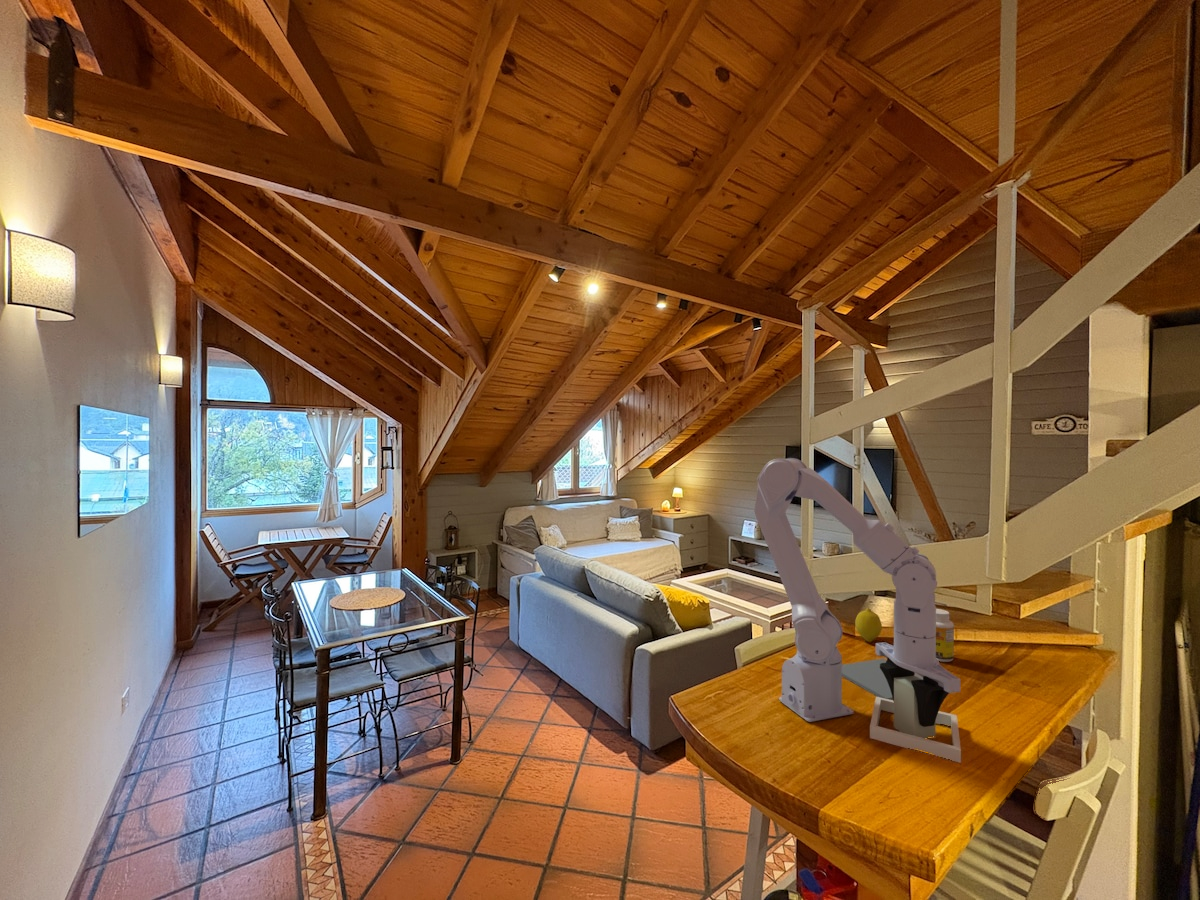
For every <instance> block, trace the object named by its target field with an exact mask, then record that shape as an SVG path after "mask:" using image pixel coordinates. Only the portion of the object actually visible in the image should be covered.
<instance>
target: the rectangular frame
mask: <svg viewBox="0 0 1200 900" xmlns="http://www.w3.org/2000/svg"><path fill="white" fill-rule="evenodd" d="M881 711H883V712H888V713H892V714H894V701H893V700H889V699H885V698H881V697H878V696H876V697H875V700H874V706H873V710H872V713H871V715H872V716H871V720H870V724H869V739H871V740H872V739H873V740H876V741H879V742H883V743H886V744H890V745H894V746H897V747H901V748H905V749H908V748H910V749H909V750H911V749H918V750H922V751H925V752H928V753H932V754H934V755H936V756H935V757H937V756H940V757H943V758H942V759H944V758H946V759H945V760H948V759H950V760H949V761H951V760H952V761H953V762H956V763H958V764H959V763H960V764H961V763H962V749H961V748H962V747H961V740H960V731H959V724H958V715H956V714H953V713H949V712H944V711H940V710H939V711H938V714H937V717H936V725H940V724H945V725H949V726H951V727H950V730H951V731H950V732H952V733H951V742H952V745H951V744H947V743H943V742H941V741H935V740H932V739H925V738H921V737H917V736H913V735H910V734H906V733H902V732H900V731H899V730H894V729H889V728H888V727H887V728H886V727H882V726H879V722H880V716H881ZM940 757H939V758H940Z"/></svg>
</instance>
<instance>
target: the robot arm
mask: <svg viewBox="0 0 1200 900" xmlns="http://www.w3.org/2000/svg"><path fill="white" fill-rule="evenodd" d="M756 482H757V483H756V484H757V488H756V497H755V502H754V508H753V509H754V510H753V511H754V516H755V518H756V520H757V523H758V525H759V528H760V530H761V532H762V535H763V538H764V540H765V543H766V545H767V548H768V550H769V553H770V555H771V558H772V560H773V563H774V565H775V568H776V570H777V573H778V575H779V578H780V580H781V583H782V585H783V588H784V590H785V593H786V595H787V598H788V600H789V603H790V606H791V621H792V625H793V627H794V631H795V635H794V644H795V647H796V654H795V655H793V657H791V658H788V659H786V660H784V662H783V664H782V668H781V696H779V698H778V700H780V701H779V702H781V703H782V704H783V705H785V706H786V707H787V708H789V710H791V711H793V712H794V713H795V714H797V715H798V716H799V717H800V718H802V719H804V720H805V721H807V722H809V723H812V722H817V721H821V720H822V721H823V720H828V719H833V718H838V717H843V716H849V715H854V709H852V708H850V707H849V706H847V705H846V704H844V703H842V702H843V701H842V699H843V697H842V696H843V695H842V690H843V688H842V687H843V683H842V680H843V677H842V665H843V664H842V663H843V661H842V659H843V656H842V654H841V652H840V651H839V648H838V647H837V646H838V644H839V642H840V641H841V639H842V638H843V634H844V633H843V632H844V631H843V626H842V625H841V622H840V620H839V619H838V618H837V617H836V616H835V615H834V614H833V613H832V612H831V611H830V609H829V606H828V604H827V602H826V601H824V599H823V598H822V597H821V596H820V593H819V592H818V589H817V587H816V585H815V582H814V580H813V577H812V575H811V572H810V569H809V568H808V565H807V563H806V560H805V557H804V555H803V552H802V551H801V548H800V546H799V543H798V540H797V538H796V536H795V534H794V531H793V528H792V526H791V524H790V521H789V519H788V516H787V514H786V512H787V510H788V508H789V506H790V504H791V502H792V500H793V498H794V497H798V498H802V499H807V500H810V501H811V500H812V501H815V502H816V503H817V504H818V505H820V506H821V507H822V509H824V510H826V511H827V513H829V514H830V515H831V516H833V517H834V518H835V520H838V522H840V524H842V525H844V527H845V528H847V529H848V530H849V531H850V532H852V539H853V541H852V542H853V544H854V545H855V546H856V547H857V549H859V550H860V551H861V552H862V553H863V554H864V555H866V557H868V558H869V559H870V560H871V561H872V562H873V563H874V564H875V565H876V566H878V568H879V569H881V570H882V571H883V572H884V573H886V574H889V575H891V581H892V583H893V586H894V587H895V599H894V600H893V645H892V644H889V643H887V642H886V641H885V642H876V643H875V655H876V656H878V657H884V658H885V659H886V660H887V661H886V663H881V664H880V669H881V670H882V672H883V674H884V676H885V678H886V680H887V682H888V685H889V687H890V690H891V694H892V697H893V701H894V678H898V677H908V676H914V674H917V675H920V676H922V677H923V680H922V679H921V680H912V681H911V684H912V686H913V688H914V691H915V694H916V698H917V704H918V719H919V723H920V725H921V726H923V727H928V726H934V724H935V720H936V717H937V714H938V711H940V708H941V706H942V705H943V702H944V701H945V699H946V698H947V696H948V695H949V694H953V693H961V678H959V677H958V676H956V675H954V674H952V673H951V672H950V671H949V670H947V669H946V668H945V667H943V666H942V665H941V664H940V662H939V659H937V658H936V609H937V606H936V604H935V602H936V594H935V591H936V589H937V586H938V581H937V572H936V568H935V566H934V564H933V563H932V562H931V561H930V560H929V558H928V557H927V556H926V555H924V554H921V553H920V550H919V549H918V548H917V547H916V546H913V547H911V546H910V545H909V544H908V543H907V542H906V541H904V540H903V539H902V538H901V537H899V536H898V535H897V534H896V533H895V532H894V530H895V526H893V525H892V524H891V523H889V522H887V523H884V522H882V520H880V519H868V518H866V516H864V515H863V514H862V513H861V512H860V511H859V510H858V509H857V508H856V507H855V506H853V504H852V503H851V502H850V501H848V499H846V498H845V497H844V496H843V495H842V494H841V493H840V492H839V491H838V490H837V489H836V488H835V487H834V486H833V485H832V484H831V483H830V482H828V481H827V480H826V478H824V477H822V475H820V474H819V473H818V472H817V471H815V470H814V469H813V468H811V467H807V465H806V464H805V463H804V462H803V461H802V460H800V459H799V458H794V457H788V458H775V459H772V460H769V461H768V462H767V463H766V464H765V465H764V466H763V468H762V470H761V471H760V473H759V474H758V476H757V478H756Z"/></svg>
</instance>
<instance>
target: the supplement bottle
mask: <svg viewBox="0 0 1200 900" xmlns="http://www.w3.org/2000/svg"><path fill="white" fill-rule="evenodd" d="M954 640H955V624H954V622H952V621H951V620H950V612H949V611H948V610H945V609H941V608H936V658H937V659H939V661H940V662H941V663H949V662H950V663H951V662H953V660H954V657H955V655H954V652H955V651H954V650H955V643H954V642H955V641H954ZM940 662H939V663H940Z"/></svg>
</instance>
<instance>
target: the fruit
mask: <svg viewBox="0 0 1200 900" xmlns="http://www.w3.org/2000/svg"><path fill="white" fill-rule="evenodd" d="M854 622H855V623H854V624H855V629H856V632H857V633H858V634H859V635H860V637H862V638H863V639H864V640H865V641H866V642H867V643H871V642H873V641H874V640H875V639H877V638H878V637H879V636H880V634H882V629H883V626H882V624H883V623H882V621H881V619H880V617H879V615H878V614H877V613H876V612H874V611H873V610H871V608H869V607H867V608H866V609H865V610H862V611H859V613H858V614H857V615H856V618H855V620H854Z"/></svg>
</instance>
